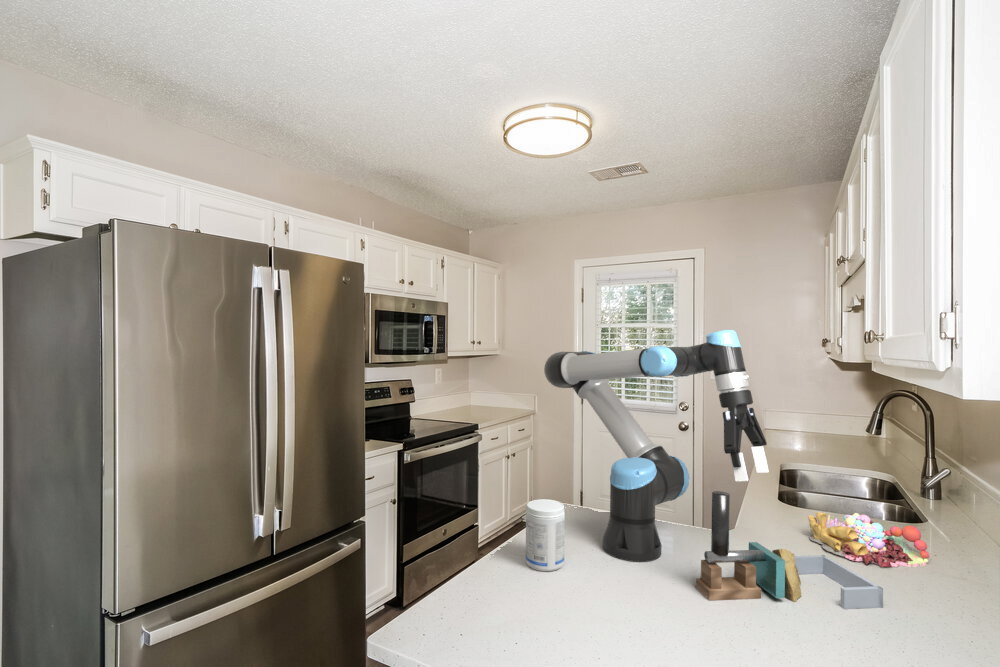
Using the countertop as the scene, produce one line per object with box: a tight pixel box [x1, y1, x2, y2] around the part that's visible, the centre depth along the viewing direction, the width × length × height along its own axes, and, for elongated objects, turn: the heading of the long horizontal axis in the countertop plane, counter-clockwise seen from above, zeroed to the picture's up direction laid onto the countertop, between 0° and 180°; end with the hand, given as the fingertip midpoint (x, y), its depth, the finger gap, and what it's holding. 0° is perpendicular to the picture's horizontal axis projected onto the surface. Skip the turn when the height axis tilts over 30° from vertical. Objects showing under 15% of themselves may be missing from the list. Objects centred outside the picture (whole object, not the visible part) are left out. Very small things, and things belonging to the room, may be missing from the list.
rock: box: [771, 548, 802, 603], centre depth 116 cm, size 10×8×10 cm
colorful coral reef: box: [807, 511, 930, 568], centre depth 141 cm, size 25×24×9 cm
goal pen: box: [794, 554, 884, 610], centre depth 117 cm, size 9×17×4 cm, turn 7°
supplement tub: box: [525, 498, 566, 572], centre depth 127 cm, size 10×10×15 cm
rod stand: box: [695, 559, 762, 601], centre depth 114 cm, size 12×6×6 cm, turn 97°
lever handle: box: [703, 490, 786, 599], centre depth 114 cm, size 15×10×21 cm, turn 97°
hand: (752, 476), depth 126 cm, fingers open, 13 cm apart
